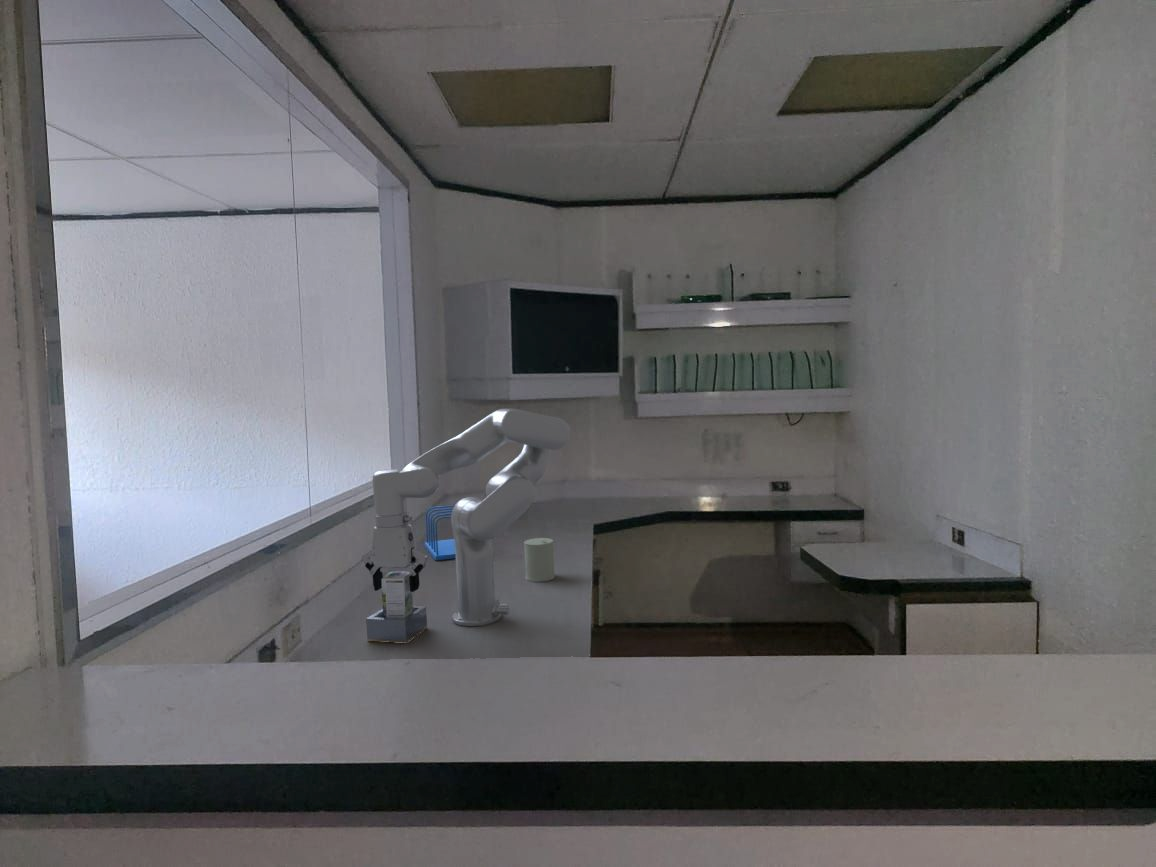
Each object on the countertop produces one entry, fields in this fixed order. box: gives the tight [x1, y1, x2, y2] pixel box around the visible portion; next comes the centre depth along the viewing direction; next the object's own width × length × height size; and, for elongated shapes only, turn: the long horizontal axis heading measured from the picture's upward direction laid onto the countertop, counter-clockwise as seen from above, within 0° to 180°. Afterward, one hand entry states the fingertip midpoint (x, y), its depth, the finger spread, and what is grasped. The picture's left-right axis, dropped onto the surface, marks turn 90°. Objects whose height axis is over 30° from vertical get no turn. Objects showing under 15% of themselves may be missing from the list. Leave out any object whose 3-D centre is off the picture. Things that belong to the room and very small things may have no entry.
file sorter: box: [424, 504, 456, 561], centre depth 249 cm, size 25×17×15 cm
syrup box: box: [381, 570, 414, 619], centre depth 165 cm, size 6×6×14 cm
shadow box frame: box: [365, 605, 428, 644], centre depth 165 cm, size 10×10×6 cm
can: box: [523, 537, 556, 583], centre depth 210 cm, size 9×9×12 cm
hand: (396, 589), depth 165 cm, fingers open, 9 cm apart
